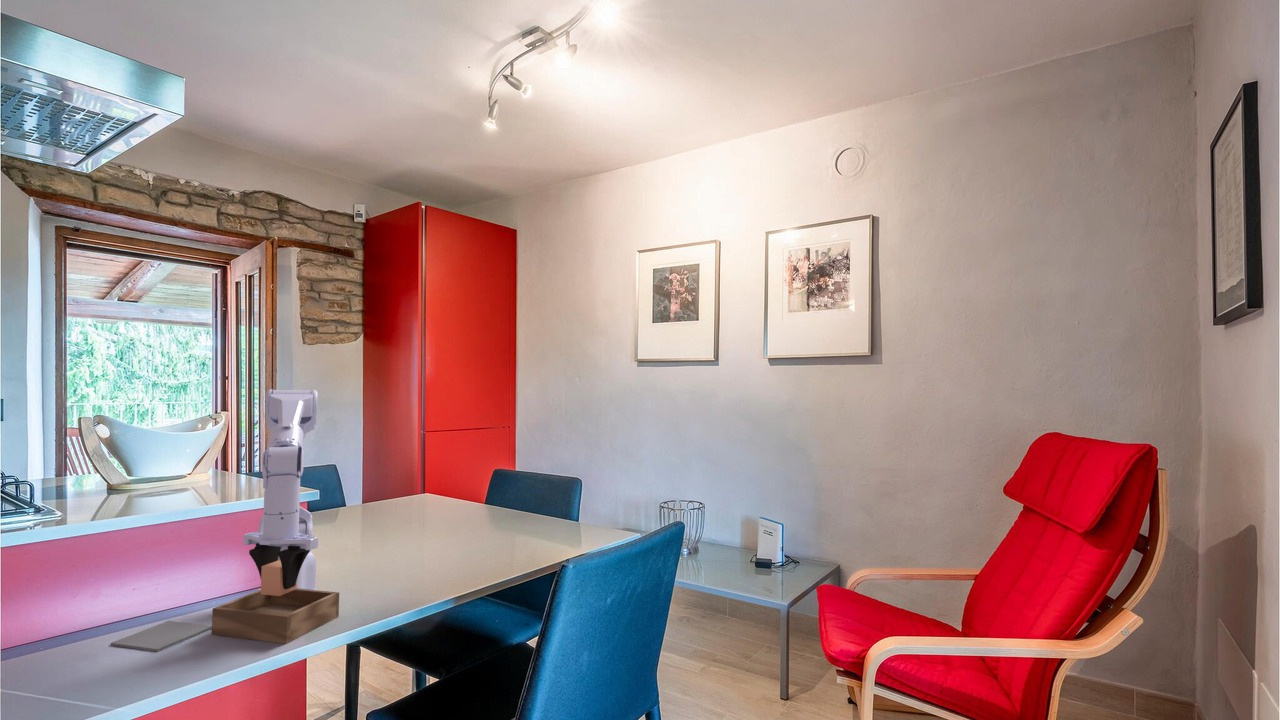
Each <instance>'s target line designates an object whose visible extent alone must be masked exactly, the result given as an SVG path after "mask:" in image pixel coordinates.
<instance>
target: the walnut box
mask: <svg viewBox="0 0 1280 720" xmlns="http://www.w3.org/2000/svg"><path fill="white" fill-rule="evenodd" d="M211 611H212V615H211V617H212V618H211V626H212V629H211V635H213V636H221V637H229V638H230V637H231V638H238V639H244V640H245V639H246V640H255V641H262V642H270V643H278V644H279V643H280V644H289V643H290V642H292V641H294V640H296V639H298V638H300V637H302V636H304V635H305V634H308V633H310V632H311V631H315V629H317V628H319V627H321V626H323V625H325V624H327V623H329V622H331V621H333V620H334V619H336V618H337V619H338V617H339V615H340V612H339V611H340V592H336V591H327V590H319V589H318V590H309V589H298V588H296V589H295V590H293V591H290V592H288V593H285V594H283V595H281V596H273V595H264V594H261V589H258V590H256V591H254V592H252V593H249V594H246V595H244V596H241V597H239V598H236V599H233V600H230V601H228V602H225V603H224V604H220V605H218V606H216V607H212V610H211Z"/></svg>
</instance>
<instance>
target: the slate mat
mask: <svg viewBox="0 0 1280 720" xmlns="http://www.w3.org/2000/svg"><path fill="white" fill-rule="evenodd" d="M210 630H212V625H210V624H200V623H192V622H191V623H190V622H185V621H175V620H166V621H164V622H162V623H158V624H157V625H154V626H151V627H149V628H146V629H142V630H140V631H137V632H135V633H133V634H130V635H127V636H125V637H123V638H120V639H117V640H114V641H112V642H110V646H112V647H113V646H114V647H121V648H129V649H136V650H142V651H151V652H156V653H157V652H160V651H163V650H165V649H167V648H170V647H173V646H175V645H177V644H179V643H181V642H184V641H186V640H188V639H191V638H194V637H196V636H198V635H201V634H203V633H205V632H208V631H210Z"/></svg>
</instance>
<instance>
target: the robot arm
mask: <svg viewBox="0 0 1280 720" xmlns="http://www.w3.org/2000/svg"><path fill="white" fill-rule="evenodd" d="M318 392H319V391H317V390H316V389H310V390H309V389H305V390H304V389H283V390H282V389H270V388H269V390H267V391H266V393H265V405H264V407H265V408H264V409H265V410H264V411H265V418H266V426H267V430H268V431H270V433H269V438H268V439H269V440H268V444H267V445H268V446H267V449H264V450H263V453H262V456H261V459H262V460H261V473H262V479H263V480H262V481H263V482H262V488H263V489H264V493H263V494H264V495H263V514H262V516H261V518H260V519H259V523H258V528H257V531H256V532H255V531H252V532H247V533H245V534H243V546H251V545H255V546H254V548H252V549H249V552H248V555H249V556H250V557H251V559H252V560H253V562H254V563H255V566H256V569H257V571H258V574H259V577H260V579H261V571H262V566H264V565H267V564H270V563H272V562H275V561H278V560H280V561H281V565H282V571H283V587H284V589H289V588H291V587H294V586H295V584H296V581H297V587H296V588H298V589H309V590H319V589H318V588H316V583H317V582H316V579H317V577H316V575H317V560H316V556H315V555H314V554H313V552H312V550H315V549H317V548H319V547H318V546H319V537H318V536H313V533H314V532H313V530H314V529H313V527H314V524H313V515H312V513H311V512H310V511H309V510H307V509H305V508H303V507H302V506H300V504H301V503H300V499H301V498H300V497H301V477H303V476H302V475H303V473H304V465H305V464H304V463H305V450H304V446H303V445H304V443H303V442H304V439H305V437H306V436H307V435H306V434H307V433H310V432H311V431H314V430H315V426H316V425H317V416H318V404H319V403H318V398H319V397H318V394H319V393H318Z"/></svg>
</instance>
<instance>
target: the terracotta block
mask: <svg viewBox="0 0 1280 720" xmlns="http://www.w3.org/2000/svg"><path fill="white" fill-rule="evenodd" d="M296 587H297V581H296V584H295V586H294V587H291V588H289V589H284V587H283V571H282V565H281V561H280V560H278V561H275V562H272V563H270V564H267V565H264V566H262V571H261V578H260V590H261V594H264V595H273V596H281V595H283V594H285V593H288V592H290V591H293V590H295V589H296Z"/></svg>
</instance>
